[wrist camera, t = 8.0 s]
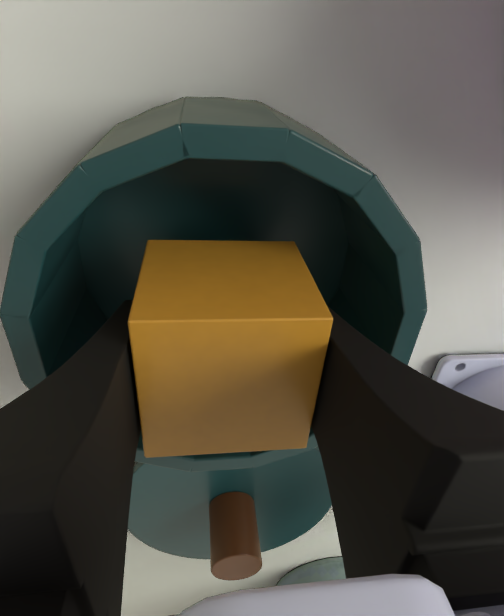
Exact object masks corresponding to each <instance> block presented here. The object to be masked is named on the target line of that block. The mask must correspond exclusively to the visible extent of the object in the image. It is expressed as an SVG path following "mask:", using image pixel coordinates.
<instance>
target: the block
mask: <svg viewBox="0 0 504 616" xmlns="http://www.w3.org/2000/svg"><path fill="white" fill-rule="evenodd" d="M332 323H333V317H332V315H331V313H330V311H329V309H328V307H327V305H326V303H325V301H324V299H323V297H322V295H321V293H320V291H319V289H318V287H317V285H316V283H315V281H314V279H313V277H312V275H311V273H310V271H309V269H308V268H307V266H306V264H305V262H304V260H303V258H302V256H301V254H300V252H299V250H298V248H297V246H296V244H295V242H294V241H214V240H147V243H146V248H145V252H144V256H143V260H142V264H141V268H140V273H139V277H138V281H137V285H136V289H135V293H134V298H133V302H132V306H131V310H130V314H129V318H128V330H129V338H130V346H131V353H132V361H133V369H134V377H135V385H136V393H137V401H138V409H139V417H140V425H141V433H142V441H143V449H144V456H145V457H146V458H151V457H167V456H184V455H201V454H217V453H234V452H251V451H267V450H284V449H301V448H306V447H307V442H308V437H309V433H310V428H311V423H312V418H313V414H314V409H315V404H316V399H317V395H318V390H319V385H320V380H321V375H322V371H323V366H324V361H325V356H326V352H327V347H328V342H329V337H330V333H331V328H332Z"/></svg>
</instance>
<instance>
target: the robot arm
mask: <svg viewBox="0 0 504 616" xmlns="http://www.w3.org/2000/svg"><path fill="white" fill-rule="evenodd" d="M132 302H133V300H125V301H124V302H123V303H122V304H121V305H120V306H119V307H118V308H117V310H116V311H115V312H114V313H113V314H112V315H111V317H110V318H109V319H108V320H107V321H106V322H105V323H104V325H103V326H102V327H101V328H100V329H99V330H98V331H97V332H96V333H95V334H94V335H93V336H92V337H91V338H90V340H89V341H88V342H87V343H86V344H85V345H84V346H82V347H81V348H80V349H79V350H78V351H77V352H76V353H75V354H74V355H73V356H72V357H71V358H70V359H69V360H68V361H66V362H65V363H64V364H63V365H62V366H61V367H59V368H58V369H57V370H56V371H54V372H53V373H52V374H51V375H49V376H48V377H47V378H45V379H44V380H43V381H41V382H40V383H39V384H37V385H36V386H34V387H33V388H31V389H30V390H28V391H27V392H25V393H24V394H22V395H21V396H19V397H18V398H16V399H15V400H13V401H12V402H10V403H9V404H7V405H6V406H4V407H2V408H1V409H0V616H121V604H122V590H123V577H124V565H125V553H126V541H127V530H128V519H129V509H130V498H131V489H132V479H133V469H134V463H135V457H136V451H137V446H138V441H139V437H140V432H141V425H140V417H139V409H138V401H137V393H136V385H135V377H134V369H133V361H132V353H131V346H130V338H129V330H128V318H129V314H130V310H131V306H132ZM327 307H328V306H327ZM328 309H329V311H330V313H331V315H332V317H333V323H332V328H331V333H330V337H329V342H328V347H327V352H326V356H325V361H324V366H323V371H322V375H321V380H320V385H319V390H318V395H317V399H316V404H315V409H314V414H313V418H312V423H311V426H312V429H313V432H314V435H315V438H316V441H317V444H318V447H319V451H320V454H321V458H322V462H323V467H324V471H325V475H326V480H327V484H328V488H329V493H330V498H331V502H332V507H333V512H334V517H335V522H336V527H337V532H338V537H339V543H340V548H341V553H342V558H343V564H344V570H345V576H346V579H339V580H329V581H320V582H311V583H301V584H292V585H282V586H273V587H263V588H254V589H244V590H238V591H233V592H229V593H224V594H220V595H216V596H211V597H207V598H205V599H203V600H201V601H199V602H197V603H196V604H194V605H192V606H190V607H188V608H187V609H185V610H183V611H182V612H181V613H180V614H179V615H170V616H504V354H472V355H448V356H445V357H443V358H442V359H440V361H439V362H438V364H437V366H436V369H435V371H434V374H433V376H432V379H431V378H429V377H427V376H425V375H423V374H421V373H419V372H418V371H416V370H414V369H413V368H411V367H409V366H408V365H406V364H404V363H403V362H401V361H399V360H398V359H396V358H394V357H393V356H391V355H390V354H388V353H387V352H385V351H384V350H383V349H381V348H380V347H378V346H377V345H376V344H374V343H373V342H371V341H370V340H369V339H367V338H366V337H365V336H363V335H362V334H361V333H360V332H358V331H357V330H356V329H355V328H353V327H352V326H351V325H350V324H348V323H347V322H346V321H345V320H344V319H342V318H341V317H340V316H339V315H338V314H336V313H335V312H334V311H333V310H332V309H331V308H329V307H328Z"/></svg>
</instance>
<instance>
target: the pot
mask: <svg viewBox="0 0 504 616" xmlns="http://www.w3.org/2000/svg"><path fill="white" fill-rule="evenodd" d="M147 240H214V241H294V242H295V244H296V246H297V248H298V250H299V252H300V254H301V256H302V258H303V260H304V262H305V264H306V266H307V268H308V269H309V271H310V273H311V275H312V277H313V279H314V281H315V283H316V285H317V287H318V289H319V291H320V293H321V295H322V297H323V299H324V301H325V303H326V305H327V306H328V307H329V308H331V309H332V310H333V311H334V312H335V313H336V314H338V315H339V316H340V317H341V318H342V319H344V320H345V321H346V322H347V323H348V324H350V325H351V326H352V327H353V328H355V329H356V330H357V331H358V332H360V333H361V334H362V335H363V336H365V337H366V338H367V339H369V340H370V341H371V342H373V343H374V344H376V345H377V346H378V347H380V348H381V349H383V350H384V351H385V352H387V353H388V354H390V355H391V356H393V357H394V358H396V359H398V360H399V361H401V362H403V363H404V364H406V365H408V362H409V360H410V357H411V354H412V351H413V348H414V346H415V343H416V340H417V337H418V334H419V332H420V329H421V326H422V323H423V320H424V318H425V315H426V312H427V300H426V291H425V281H424V272H423V262H422V253H421V243H420V239H419V237H418V236H417V234H416V233H415V231H414V230H413V228H412V227H411V225H410V224H409V222H408V221H407V220H406V218H405V217H404V215H403V214H402V212H401V211H400V209H399V208H398V206H397V205H396V204H395V202H394V201H393V199H392V198H391V196H390V195H389V193H388V192H387V190H386V189H385V187H384V186H383V185H382V183H381V182H380V180H379V179H378V177H377V176H376V175H375V174H374V173H372V172H371V171H370V170H369V169H367V168H366V167H364V166H363V165H362V164H360V163H359V162H357V161H356V160H355V159H353V158H352V157H351V156H349V155H348V154H346V153H345V152H344V151H342V150H341V149H339V148H338V147H337V146H335V145H334V144H332V143H331V142H330V141H328V140H327V139H326V138H324V137H323V136H321V135H320V134H319V133H317V132H315V131H313V130H311V129H310V128H308V127H306V126H304V125H302V124H300V123H299V122H297V121H295V120H293V119H292V118H290V117H288V116H287V115H284V114H282V113H280V112H278V111H276V110H275V109H273V108H271V107H269V106H267V105H265V104H264V103H262V102H258V101H253V100H238V99H231V98H223V97H204V98H202V97H185V98H184V97H182V98H180V99H177V100H175V101H172V102H170V103H168V104H165V105H161V106H158V107H155V108H152V109H150V110H148V111H146V112H144V113H142V114H140V115H138V116H135V117H133V118H130V119H128V120H126V121H123V122H121V123H118V124H117V125H116V126H114V127H113V128H112V129H111V130H110V131H109V132H108V133H107V134H106V135H105V137H104V138H103V139H102V140H101V141H100V142H99V143H98V144H97V145H96V146H95V147H94V148H93V149H92V150H91V151H90V152H89V153H88V154H87V155H86V156H85V157H84V158H83V159H82V160H81V161H80V162H79V163H78V164H77V165H76V166H75V167H74V168H73V170H72V171H71V172H70V173H69V174H68V175H67V176H66V177H65V179H64V180H63V181H62V182H61V183H60V184H59V185H58V187H57V188H56V189H55V190H54V191H53V192H52V193H51V194H50V196H49V197H48V198H47V199H46V200H45V201H44V202H43V204H42V205H41V206H40V207H39V208H38V209H37V210H36V211H35V213H34V214H33V215H32V216H31V217H30V218H29V219H28V221H27V222H26V223H25V224H24V225H23V226H22V227H21V228H20V230H19V231H18V232H17V235H16V236H15V238H14V243H13V247H12V252H11V257H10V262H9V267H8V272H7V277H6V282H5V287H4V292H3V297H2V302H1V307H0V318H1V321H2V324H3V327H4V330H5V333H6V336H7V339H8V342H9V345H10V348H11V351H12V354H13V357H14V360H15V363H16V366H17V369H18V372H19V375H20V378H21V380H22V381H23V383H24V384H25V385H26V386H27V387H28V388H29V389H31V388H33V387H34V386H36V385H37V384H39V383H40V382H41V381H43V380H44V379H45V378H47V377H48V376H49V375H51V374H52V373H53V372H54V371H56V370H57V369H58V368H59V367H61V366H62V365H63V364H64V363H65V362H66V361H68V360H69V359H70V358H71V357H72V356H73V355H74V354H75V353H76V352H77V351H78V350H79V349H80V348H81V347H82V346H84V345H85V344H86V343H87V342H88V341H89V340H90V338H91V337H92V336H93V335H94V334H95V333H96V332H97V331H98V330H99V329H100V328H101V327H102V326H103V325H104V323H105V322H106V321H107V320H108V319H109V318H110V317H111V315H112V314H113V313H114V312H115V311H116V310H117V308H118V307H119V306H120V305H121V304H122V303H123V302H124V301H125V300H133V298H134V293H135V289H136V285H137V281H138V277H139V273H140V268H141V264H142V260H143V256H144V252H145V248H146V243H147ZM317 446H318V444H317V441H316V438H315V435H314V432H313V429H312V426H311V428H310V433H309V437H308V442H307V447H306V448H301V449H284V450H267V451H251V452H234V453H217V454H201V455H184V456H167V457H151V458H146V457H145V456H144V449H143V441H142V433H141V432H140V437H139V441H138V446H137V451H136V457H135V462H140V463H145V464H150V465H156V466H161V467H166V468H172V469H177V470H182V471H188V472H189V471H191V472H199V471H215V470H230V469H246V468H253V467H254V468H256V467H259V466H262V465H265V464H269V463H272V462H275V461H278V460H281V459H284V458H288V457H291V456H294V455H297V454H300V453H303V452H306V451H310V450H312V449H313V448H316V447H317Z"/></svg>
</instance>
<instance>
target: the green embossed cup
mask: <svg viewBox="0 0 504 616" xmlns="http://www.w3.org/2000/svg"><path fill="white" fill-rule="evenodd" d="M339 579H346V576H345V570H344V564H343V558H342V557H334V558H327V559H322V560H318V561H314V562H311V563H308V564H305V565H303V566H300V567H298V568H296V569H294V570H292V571H291V572H289V573H288V574H286V575H285V576H284V577H283V578H281V580H280V581H279V582H278V584H277V586H282V585H292V584H301V583H311V582H320V581H329V580H339Z"/></svg>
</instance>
